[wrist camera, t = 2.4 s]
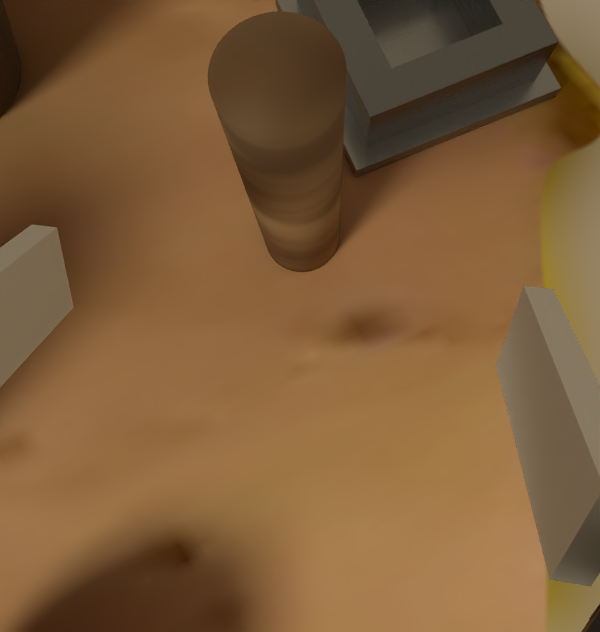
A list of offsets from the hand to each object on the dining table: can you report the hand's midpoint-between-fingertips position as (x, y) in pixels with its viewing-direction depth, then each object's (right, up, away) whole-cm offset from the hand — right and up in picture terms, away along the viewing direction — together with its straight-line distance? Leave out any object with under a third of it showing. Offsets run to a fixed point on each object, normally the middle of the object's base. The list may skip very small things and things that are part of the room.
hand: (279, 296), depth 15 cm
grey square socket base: (+7, +15, +15) cm, 23 cm away
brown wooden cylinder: (+1, +4, +14) cm, 14 cm away
